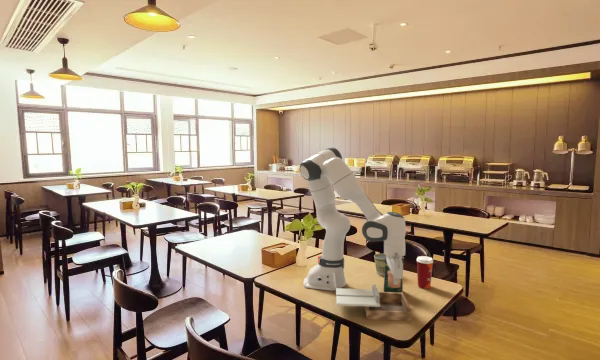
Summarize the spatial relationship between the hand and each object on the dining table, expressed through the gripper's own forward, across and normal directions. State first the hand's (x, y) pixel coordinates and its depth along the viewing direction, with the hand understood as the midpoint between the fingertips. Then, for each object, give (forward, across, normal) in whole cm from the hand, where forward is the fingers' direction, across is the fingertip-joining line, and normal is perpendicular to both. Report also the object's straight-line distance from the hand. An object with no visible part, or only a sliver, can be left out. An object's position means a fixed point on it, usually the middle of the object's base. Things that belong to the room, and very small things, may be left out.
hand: (394, 280), depth 147 cm
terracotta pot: (+2, 0, 0) cm, 2 cm away
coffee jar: (+14, +20, -3) cm, 25 cm away
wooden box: (+14, 0, +4) cm, 14 cm away
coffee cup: (+14, +28, -20) cm, 38 cm away
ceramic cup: (+14, +44, -3) cm, 46 cm away
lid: (+8, 0, +16) cm, 18 cm away
